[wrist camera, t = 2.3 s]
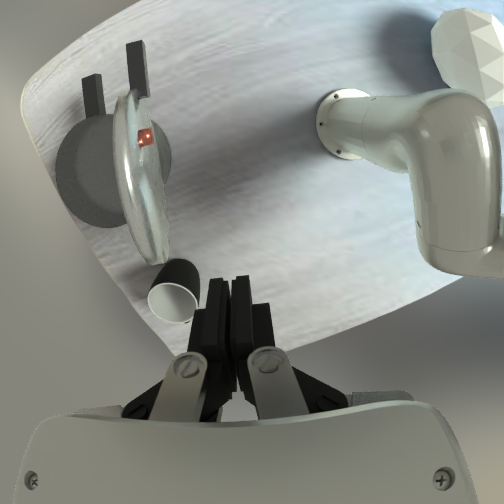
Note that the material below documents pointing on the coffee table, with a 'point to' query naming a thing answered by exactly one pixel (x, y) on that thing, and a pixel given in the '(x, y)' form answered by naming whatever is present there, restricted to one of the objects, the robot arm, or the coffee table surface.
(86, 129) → the pot
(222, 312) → the robot arm
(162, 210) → the lid
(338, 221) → the coffee table surface
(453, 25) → the geometric polyhedron
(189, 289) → the mug
